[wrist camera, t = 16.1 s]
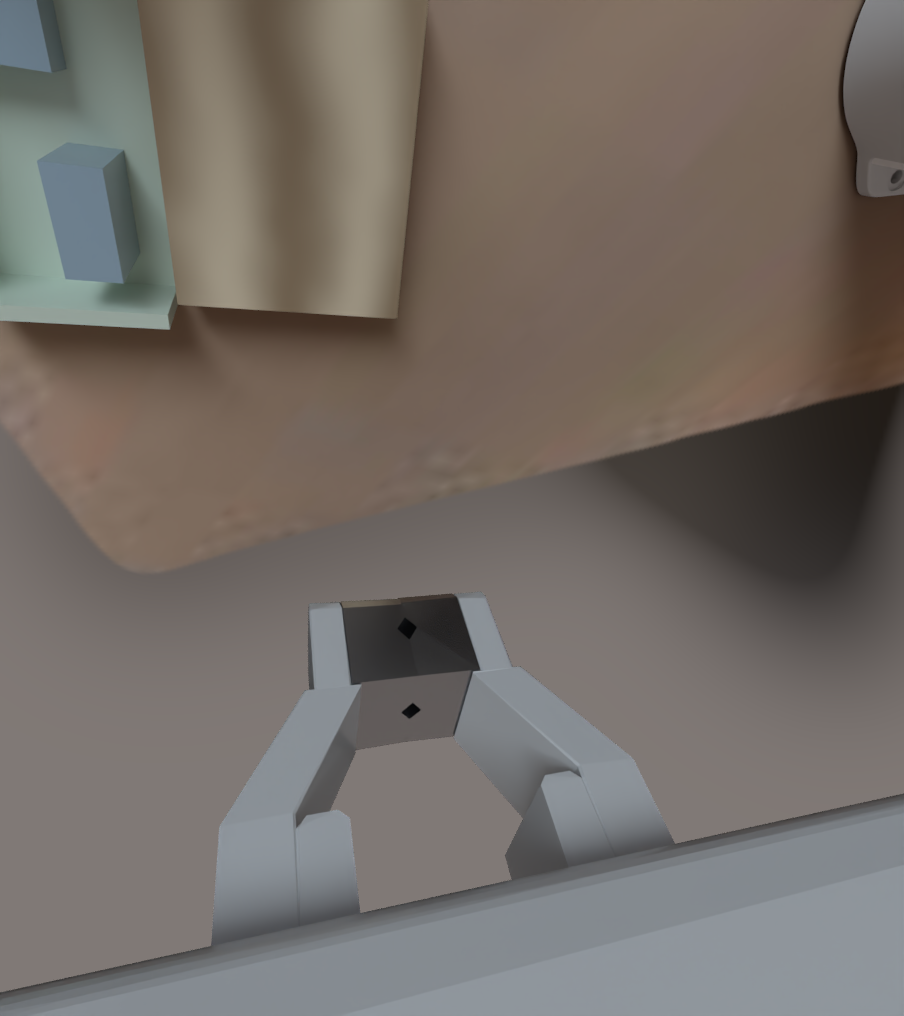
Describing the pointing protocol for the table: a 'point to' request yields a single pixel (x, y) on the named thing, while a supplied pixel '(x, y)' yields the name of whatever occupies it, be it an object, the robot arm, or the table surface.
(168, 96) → the beige shallow box
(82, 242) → the tile
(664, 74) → the table surface
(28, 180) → the tray
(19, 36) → the tile
